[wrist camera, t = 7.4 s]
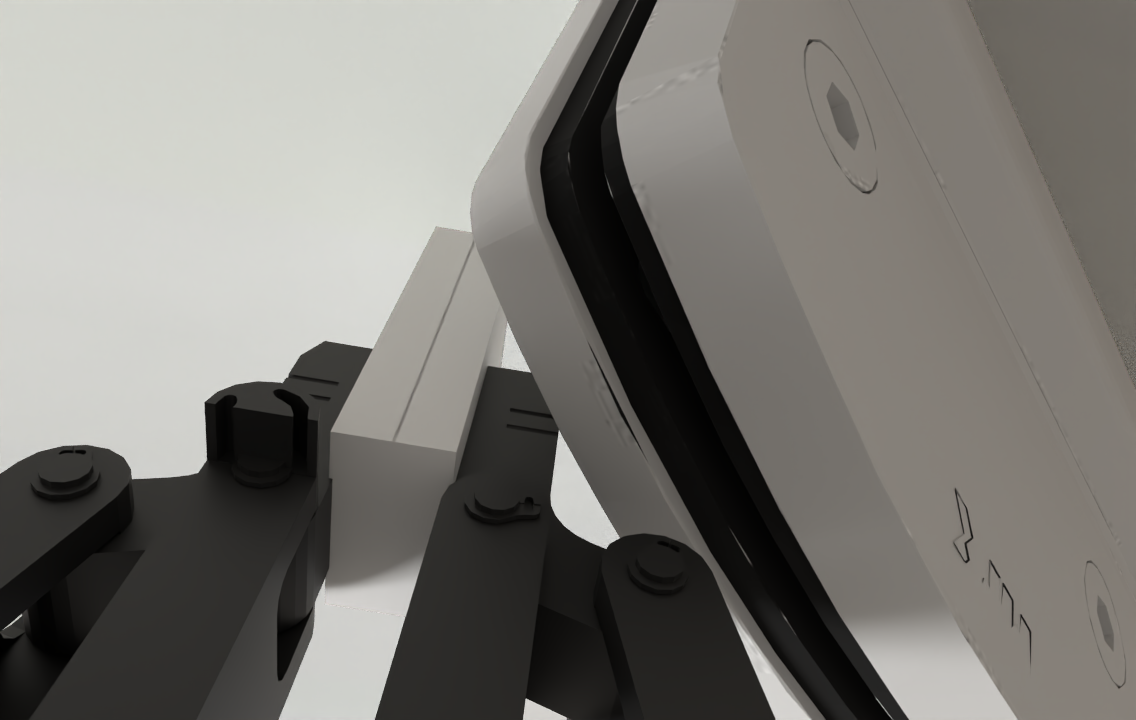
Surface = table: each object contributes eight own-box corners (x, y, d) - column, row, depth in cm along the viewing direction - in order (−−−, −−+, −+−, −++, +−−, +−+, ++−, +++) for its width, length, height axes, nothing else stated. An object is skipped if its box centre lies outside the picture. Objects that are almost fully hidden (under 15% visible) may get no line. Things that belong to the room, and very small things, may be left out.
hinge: (1194, 523, 21) (1286, 1040, 13) (972, 552, 23) (950, 994, 16) (865, -234, 14) (707, -15, 7) (615, -68, 17) (321, 209, 10)
